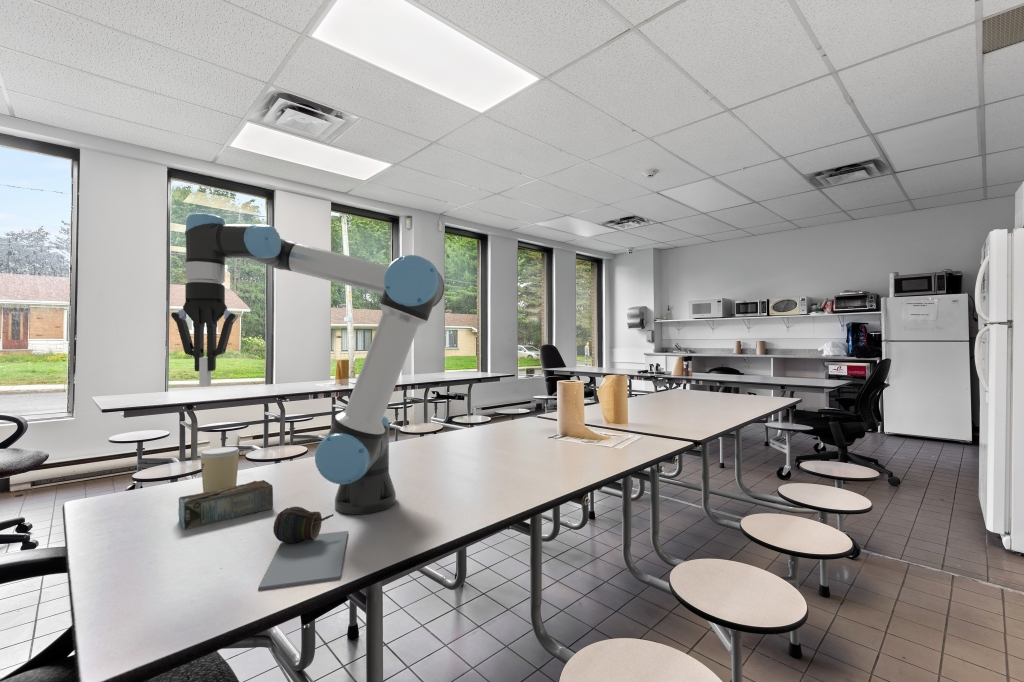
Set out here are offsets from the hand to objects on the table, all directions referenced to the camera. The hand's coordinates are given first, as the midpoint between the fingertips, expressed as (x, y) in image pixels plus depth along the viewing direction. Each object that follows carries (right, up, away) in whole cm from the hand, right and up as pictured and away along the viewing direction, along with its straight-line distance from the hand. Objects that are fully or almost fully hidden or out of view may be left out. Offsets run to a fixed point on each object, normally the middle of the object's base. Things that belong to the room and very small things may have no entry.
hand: (205, 385), depth 104 cm
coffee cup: (-12, -33, +24) cm, 43 cm away
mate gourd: (+22, -28, -9) cm, 37 cm away
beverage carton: (0, -33, +7) cm, 34 cm away
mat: (+31, -32, -16) cm, 47 cm away
